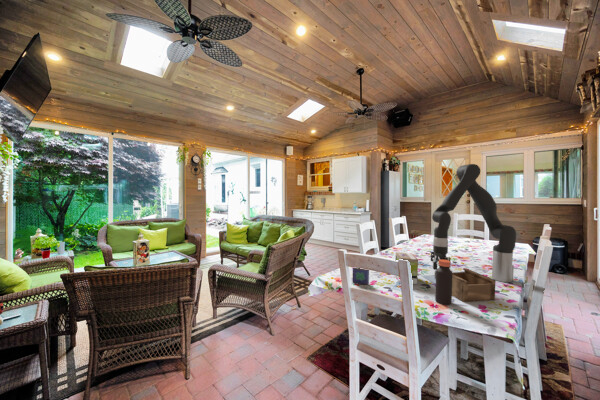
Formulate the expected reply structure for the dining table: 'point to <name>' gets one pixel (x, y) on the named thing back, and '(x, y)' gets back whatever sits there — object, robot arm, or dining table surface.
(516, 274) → the dining table surface
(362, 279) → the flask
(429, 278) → the cover plate
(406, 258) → the tea box
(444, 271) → the bottle
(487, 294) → the walnut box
